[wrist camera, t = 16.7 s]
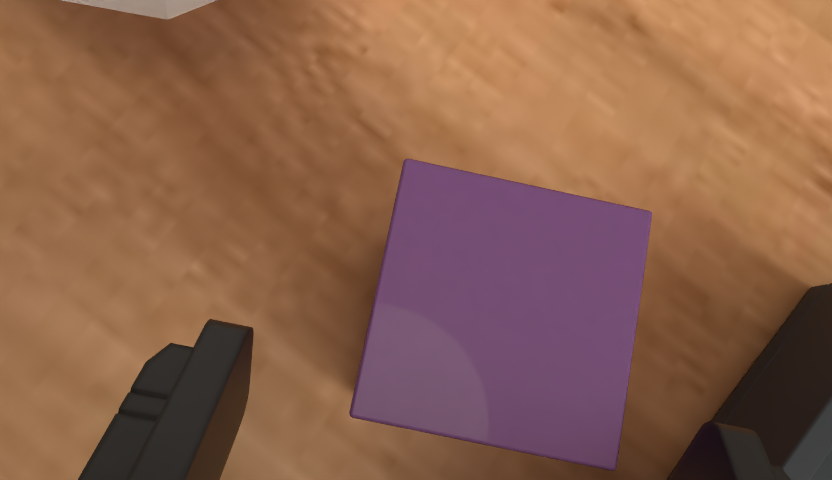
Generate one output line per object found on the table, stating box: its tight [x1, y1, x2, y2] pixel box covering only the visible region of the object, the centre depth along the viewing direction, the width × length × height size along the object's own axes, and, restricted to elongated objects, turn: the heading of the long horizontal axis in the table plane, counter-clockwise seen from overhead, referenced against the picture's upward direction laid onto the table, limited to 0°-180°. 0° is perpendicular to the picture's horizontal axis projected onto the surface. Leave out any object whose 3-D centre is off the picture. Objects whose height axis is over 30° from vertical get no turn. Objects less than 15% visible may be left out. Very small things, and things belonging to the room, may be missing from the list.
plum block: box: [349, 159, 652, 471], centre depth 16 cm, size 4×4×8 cm
